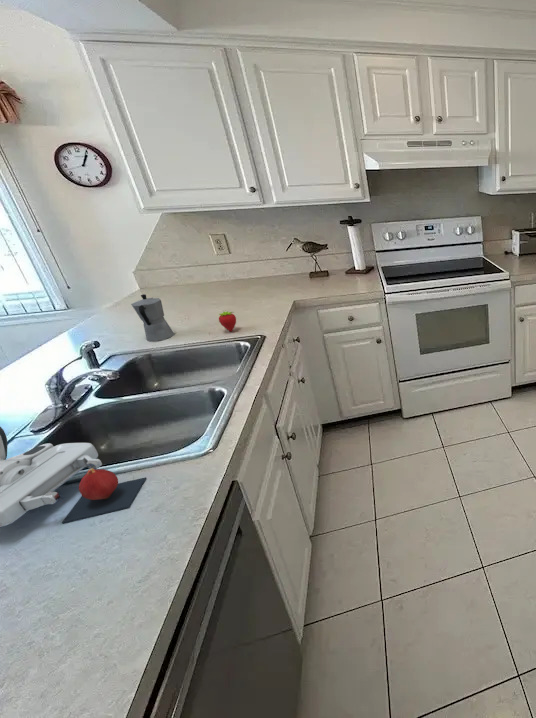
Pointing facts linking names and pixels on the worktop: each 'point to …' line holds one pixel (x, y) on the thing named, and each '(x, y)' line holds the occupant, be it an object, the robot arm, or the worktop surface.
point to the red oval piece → (98, 484)
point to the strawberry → (227, 320)
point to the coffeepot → (153, 318)
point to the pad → (106, 502)
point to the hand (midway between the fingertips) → (78, 480)
